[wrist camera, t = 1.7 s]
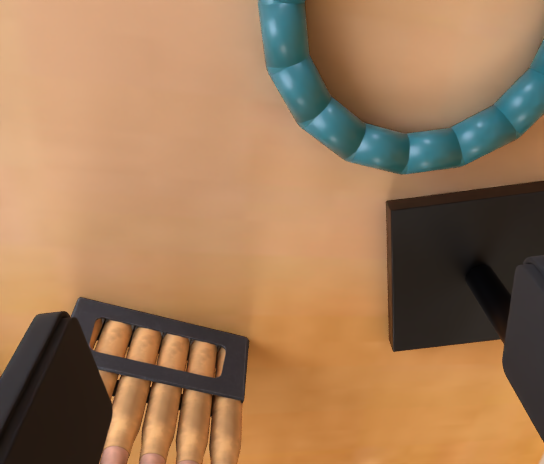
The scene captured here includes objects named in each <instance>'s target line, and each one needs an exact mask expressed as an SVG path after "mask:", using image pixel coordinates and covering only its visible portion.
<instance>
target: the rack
mask: <svg viewBox="0 0 544 464" xmlns="http://www.w3.org/2000/svg"><path fill="white" fill-rule="evenodd" d="M386 223H387V270H388V317H389V341H390V344H391V347H392V350H393V352H395V351H404V350H413V349H421V348H430V347H438V346H447V345H456V344H464V343H473V342H481V341H490V340H499V339H501V340H502V342H503V343H504V344H505V337H506V330H507V323H508V316H509V309H510V302H511V296H512V289H513V282H514V275H515V270H516V267H517V266H518V265H523V262H524V260H525V258H527V257H532V256H541V255H544V181H540V182H532V183H524V184H517V185H509V186H501V187H493V188H485V189H477V190H470V191H462V192H454V193H446V194H438V195H431V196H423V197H415V198H407V199H399V200H391V201H386Z"/></svg>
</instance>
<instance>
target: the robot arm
mask: <svg viewBox="0 0 544 464" xmlns="http://www.w3.org/2000/svg"><path fill="white" fill-rule="evenodd" d="M502 363H503V369H504V372H505V375H506V377H507V379H508V380H509V382H510V384H511V386H512V387H513V389H514V391H515V393H516V394H517V396H518V398H519V400H520V401H521V403H522V405H523V407H524V408H525V410H526V412H527V414H528V415H529V417H530V419H531V421H532V423H533V424H534V426H535V428H536V430H537V431H538V433H539V435H540V437H541V438H542V440H543V442H544V255H541V256H532V257H527V258H525V260H524V262H523V265H518V266H517V267H516V270H515V275H514V282H513V289H512V296H511V302H510V309H509V316H508V323H507V330H506V337H505V344H504V351H503V358H502ZM112 413H113V410H112V403H111V400H110V397H109V395H108V392H107V390H106V387H105V385H104V382H103V380H102V377H101V375H100V372H99V370H98V368H97V365H96V363H95V360H94V358H93V355H92V353H91V350H90V348H89V345H88V343H87V340H86V338H85V335H84V333H83V330H82V328H81V325H80V323H79V321H78V319H77V318H76V317H70V315H69V314H68V313H67V312H65V311H61V312H53V313H44V314H38V315H36V317H35V318H34V319H33V321H32V323H31V324H30V326H29V328H28V330H27V332H26V333H25V335H24V337H23V339H22V340H21V342H20V344H19V346H18V347H17V349H16V351H15V353H14V355H13V356H12V358H11V360H10V362H9V363H8V365H7V367H6V369H5V370H4V372H3V374H2V376H1V378H0V464H99V462H100V458H101V455H102V451H103V448H104V444H105V441H106V437H107V434H108V431H109V427H110V424H111V420H112Z"/></svg>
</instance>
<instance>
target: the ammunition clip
mask: <svg viewBox="0 0 544 464" xmlns="http://www.w3.org/2000/svg"><path fill="white" fill-rule="evenodd" d="M71 317H76V318H77V319H78V321H79V323H80V325H81V328H82V330H83V333H84V335H85V338H86V340H87V343H88V345H89V348H90V350H91V353H92V355H93V358H94V360H95V363H96V365H97V368H98V370H99V372H100V375H101V377H102V380H103V382H104V385H105V387H106V390H107V392H108V395H109V397H110V400H111V397H112V396H115V397H114V400H113V404H112V410H113V413H112V420H111V424H110V427H109V431H108V434H107V437H106V441H105V444H104V448H103V451H102V457H101V461H100V464H127V461H128V458H129V456H130V452H131V449H132V446H133V443H134V441H135V438H136V436H137V434H138V432H139V430H140V426H141V422H142V418H143V414H144V409H145V405H146V403H148V405H147V410H146V414H145V419H144V423H143V428H142V447H141V453H140V459H139V464H166V460H167V455H168V451H169V448H170V446H171V443H172V441H173V438H174V434H175V428H176V422H177V416H178V410H180V416H179V422H178V429H177V436H176V451H177V458H176V464H202V462H203V456H204V453H205V450H206V447H207V443H208V435H209V425H210V417H212V420H211V432H210V444H209V450H210V458H211V464H237V461H238V458H239V454H240V449H241V431H242V403H243V401H244V395H245V383H246V372H247V360H248V349H249V340H248V339H247V338H246V337H243V336H239V335H235V334H231V333H226V332H222V331H218V330H214V329H210V328H206V327H202V326H197V325H193V324H189V323H185V322H181V321H177V320H173V319H169V318H164V317H160V316H156V315H152V314H148V313H144V312H140V311H135V310H131V309H127V308H123V307H119V306H115V305H111V304H106V303H102V302H98V301H94V300H90V299H86V298H82V297H80V298H79V299H78V300H77V303H76V305H75V308H74V310H73V313H72V315H71ZM96 340H98V343H97V345H96V348H95V350H93V348H94V345H95V343H96ZM127 347H129V350H128V353H127V357H126V358H124V357H125V353H126V350H127ZM158 354H159V356H158ZM157 356H158V360H157ZM156 360H157V365H155V364H156ZM187 360H188V363H187ZM186 363H187V369H186V372H185V368H186ZM215 368H216V372H215ZM119 374H120V375H121V377H120V380H117V379H118V375H119ZM214 375H215V378H214ZM151 381H152V382H153V383H152V387H150V385H151ZM182 388H184V389H183V394H181V392H182ZM212 395H213V396H212Z"/></svg>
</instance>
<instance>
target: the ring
mask: <svg viewBox="0 0 544 464" xmlns="http://www.w3.org/2000/svg"><path fill="white" fill-rule="evenodd" d="M258 8H259V16H260V24H261V31H262V39H263V46H264V54H265V61H266V67H267V71H268V73H269V75H270V77H271V78H272V80H273V82H274V84H275V85H276V87H277V89H278V91H279V93H280V94H281V96H282V98H283V100H284V101H285V103H286V105H287V107H288V108H289V110H290V112H291V114H292V115H293V117H294V119H295V121H296V122H297V124H298V125H299V126H300V127H301V128H302V129H304V130H305V131H306V132H308V133H309V134H310V135H312V136H313V137H314V138H316V139H317V140H318V141H320V142H321V143H322V144H324V145H325V146H326V147H328V148H329V149H330V150H332V151H333V152H334V153H335V154H337V155H338V156H339V157H341V158H342V159H344V160H346V161H348V162H352V163H356V164H360V165H364V166H368V167H372V168H376V169H380V170H384V171H388V172H392V173H396V174H411V173H419V172H426V171H434V170H442V169H450V168H457V167H461V166H464V165H466V164H468V163H470V162H472V161H474V160H476V159H478V158H480V157H482V156H484V155H486V154H488V153H490V152H492V151H494V150H496V149H498V148H500V147H502V146H504V145H506V144H508V143H510V142H512V141H514V140H516V139H518V138H519V137H520V136H522V135H523V134H524V133H525V132H526V131H527V130H528V129H529V128H530V127H531V126H532V125H533V124H534V123H535V122H536V121H537V120H538V119H539V118H540V117H541V116H542V115H543V114H544V39H543V41H542V43H541V45H540V47H539V49H538V51H537V53H536V55H535V57H534V59H533V61H532V63H531V65H530V67H529V69H528V70H527V71H526V72H525V73H524V74H523V75H522V76H521V77H520V78H519V79H518V80H517V81H516V82H515V83H514V84H513V85H512V86H511V87H510V88H509V89H508V90H507V91H506V92H505V93H504V94H503V95H502V96H501V97H500V98H499V99H498V100H497V101H496V102H495V103H494V104H493V105H492V106H490V107H489V108H487V109H485V110H483V111H481V112H479V113H477V114H475V115H473V116H471V117H469V118H467V119H465V120H464V121H462V122H460V123H458V124H456V125H454V126H452V127H450V128H444V129H436V130H428V131H421V132H413V133H406V134H405V133H401V132H398V131H394V130H390V129H386V128H382V127H378V126H375V125H371V124H367V123H364V122H363V121H361V120H360V119H359V118H358V117H356V116H355V115H354V114H353V113H351V112H350V111H349V110H348V109H346V108H345V107H344V106H343V105H341V104H340V103H339V102H338V101H336V100H335V99H334V98H333V97H331V95H330V93H329V91H328V89H327V88H326V86H325V84H324V82H323V80H322V78H321V76H320V74H319V72H318V70H317V68H316V66H315V64H314V63H313V61H312V59H311V57H310V55H309V45H308V34H307V22H306V11H305V0H258Z"/></svg>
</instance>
